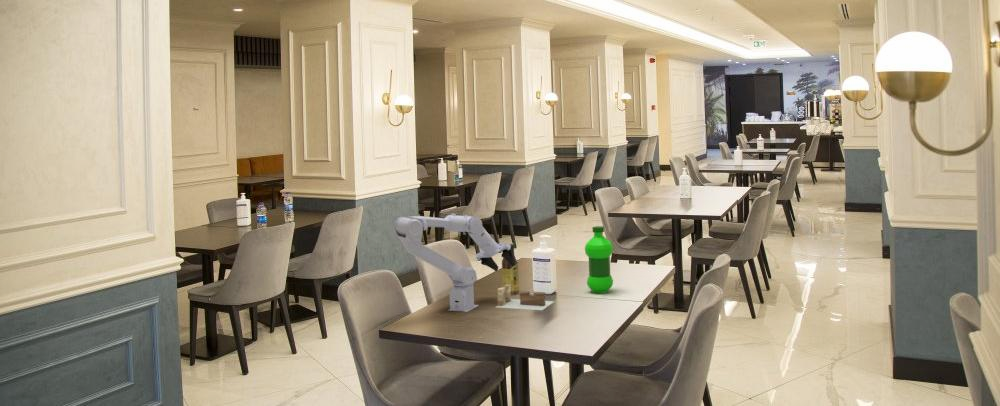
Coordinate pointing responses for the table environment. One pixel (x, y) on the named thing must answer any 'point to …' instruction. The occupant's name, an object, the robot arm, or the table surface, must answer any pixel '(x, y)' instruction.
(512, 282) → the sauce bottle
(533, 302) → the brown rectangular block
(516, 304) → the base board
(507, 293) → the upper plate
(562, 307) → the table surface
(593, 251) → the plastic bottle
